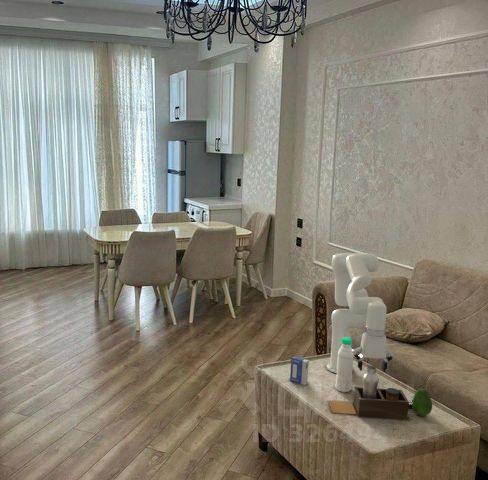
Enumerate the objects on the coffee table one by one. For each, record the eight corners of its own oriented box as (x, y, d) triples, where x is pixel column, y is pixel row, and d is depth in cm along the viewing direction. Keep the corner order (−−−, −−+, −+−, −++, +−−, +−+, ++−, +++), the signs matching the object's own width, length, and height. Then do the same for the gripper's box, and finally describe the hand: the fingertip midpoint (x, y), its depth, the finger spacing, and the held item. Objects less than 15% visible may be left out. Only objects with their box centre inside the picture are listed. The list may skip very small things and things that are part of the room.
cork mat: (328, 401, 240) (328, 400, 239) (351, 403, 239) (351, 402, 238) (332, 413, 230) (332, 412, 230) (356, 414, 229) (356, 413, 229)
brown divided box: (353, 403, 238) (354, 386, 236) (399, 406, 236) (401, 389, 234) (358, 416, 227) (359, 399, 226) (407, 419, 225) (409, 402, 224)
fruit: (435, 419, 226) (438, 393, 223) (417, 420, 224) (420, 394, 222) (424, 409, 233) (427, 384, 231) (407, 411, 232) (410, 385, 230)
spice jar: (383, 408, 234) (385, 387, 232) (395, 409, 233) (397, 388, 231) (386, 414, 229) (388, 393, 227) (398, 415, 228) (400, 393, 226)
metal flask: (379, 414, 230) (383, 370, 226) (364, 415, 228) (368, 371, 224) (371, 406, 236) (375, 363, 232) (357, 407, 235) (360, 364, 231)
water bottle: (351, 393, 247) (355, 342, 242) (335, 391, 249) (339, 340, 244) (350, 386, 254) (354, 336, 249) (334, 384, 255) (338, 335, 250)
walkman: (290, 380, 259) (291, 357, 257) (292, 378, 261) (293, 355, 259) (305, 385, 255) (306, 361, 252) (307, 383, 257) (309, 359, 255)
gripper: (394, 329, 228) (390, 367, 231) (352, 327, 229) (349, 365, 232) (398, 335, 220) (395, 374, 223) (355, 333, 222) (352, 372, 225)
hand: (371, 370), depth 228 cm, fingers open, 9 cm apart
